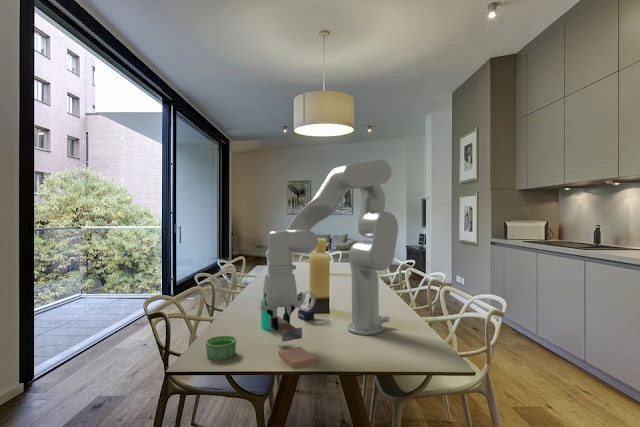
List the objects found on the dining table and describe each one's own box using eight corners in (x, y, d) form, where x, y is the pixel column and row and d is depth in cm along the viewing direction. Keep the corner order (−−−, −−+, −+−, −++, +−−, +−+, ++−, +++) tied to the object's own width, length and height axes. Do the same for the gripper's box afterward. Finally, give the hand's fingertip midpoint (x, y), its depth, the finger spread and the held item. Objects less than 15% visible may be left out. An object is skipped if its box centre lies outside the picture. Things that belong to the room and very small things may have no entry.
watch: (293, 318, 148) (293, 290, 148) (311, 315, 152) (311, 288, 152) (300, 321, 143) (300, 293, 143) (318, 318, 147) (317, 291, 147)
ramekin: (207, 363, 103) (207, 347, 103) (203, 352, 111) (203, 337, 111) (239, 358, 106) (239, 342, 107) (233, 348, 115) (233, 333, 115)
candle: (274, 330, 132) (274, 296, 133) (258, 329, 134) (258, 296, 134) (279, 325, 138) (279, 293, 138) (264, 324, 140) (264, 292, 140)
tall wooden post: (282, 324, 122) (282, 315, 122) (301, 338, 109) (301, 328, 109) (265, 326, 119) (265, 317, 119) (283, 341, 106) (283, 331, 106)
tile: (300, 346, 111) (315, 357, 102) (300, 353, 111) (315, 365, 102) (278, 350, 108) (292, 362, 99) (278, 357, 108) (292, 370, 99)
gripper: (298, 266, 123) (299, 322, 123) (251, 270, 115) (251, 329, 115) (308, 269, 116) (309, 328, 116) (259, 273, 109) (259, 336, 109)
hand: (280, 328), depth 116 cm, fingers closed on tall wooden post, 3 cm apart
